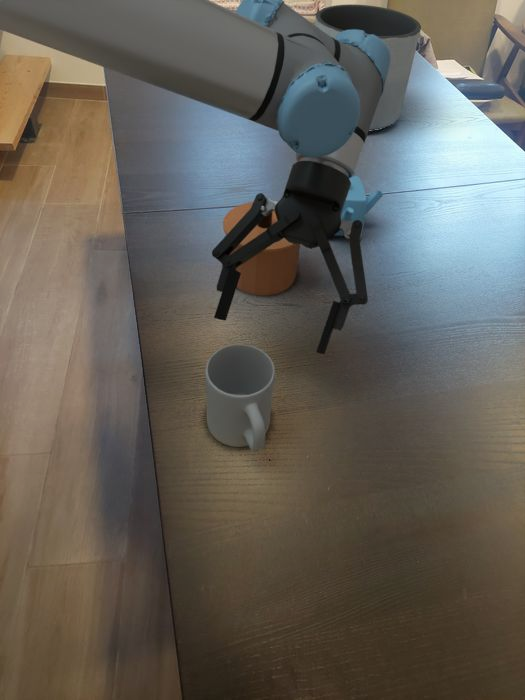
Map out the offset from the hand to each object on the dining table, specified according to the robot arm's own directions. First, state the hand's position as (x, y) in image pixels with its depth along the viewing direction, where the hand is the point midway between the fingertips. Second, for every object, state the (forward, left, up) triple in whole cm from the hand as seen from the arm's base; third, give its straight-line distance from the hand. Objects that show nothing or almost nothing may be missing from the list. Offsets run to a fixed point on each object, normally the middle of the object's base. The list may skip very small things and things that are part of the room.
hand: (268, 336), depth 64 cm
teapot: (+6, +44, -12) cm, 46 cm away
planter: (+2, +97, -12) cm, 98 cm away
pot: (-6, +26, -12) cm, 29 cm away
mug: (-1, -7, -12) cm, 14 cm away
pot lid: (-6, +26, -2) cm, 27 cm away
